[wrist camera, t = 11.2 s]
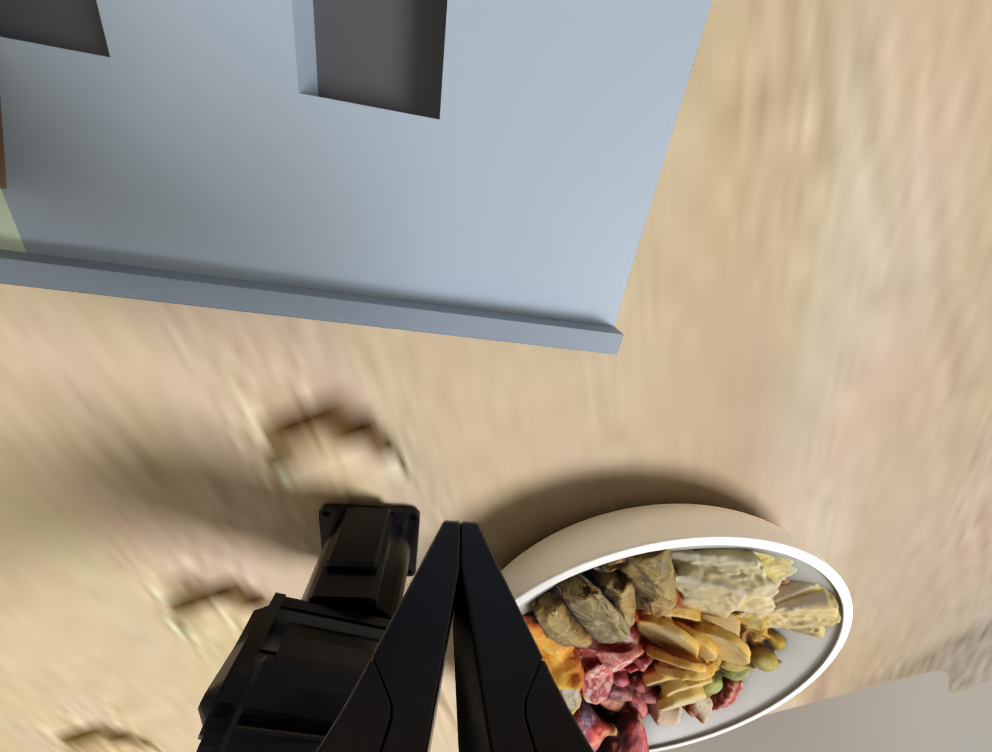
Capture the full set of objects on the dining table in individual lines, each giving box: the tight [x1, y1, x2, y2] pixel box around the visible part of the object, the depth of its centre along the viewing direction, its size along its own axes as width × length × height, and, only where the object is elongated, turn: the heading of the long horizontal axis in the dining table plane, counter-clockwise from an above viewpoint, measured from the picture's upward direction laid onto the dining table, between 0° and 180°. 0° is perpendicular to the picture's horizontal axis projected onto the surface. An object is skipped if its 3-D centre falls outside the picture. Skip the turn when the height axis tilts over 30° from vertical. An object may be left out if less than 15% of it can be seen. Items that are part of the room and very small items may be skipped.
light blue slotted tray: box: [0, 0, 712, 355], centre depth 13 cm, size 14×32×4 cm, turn 82°
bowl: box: [501, 504, 853, 752], centre depth 28 cm, size 30×30×8 cm
